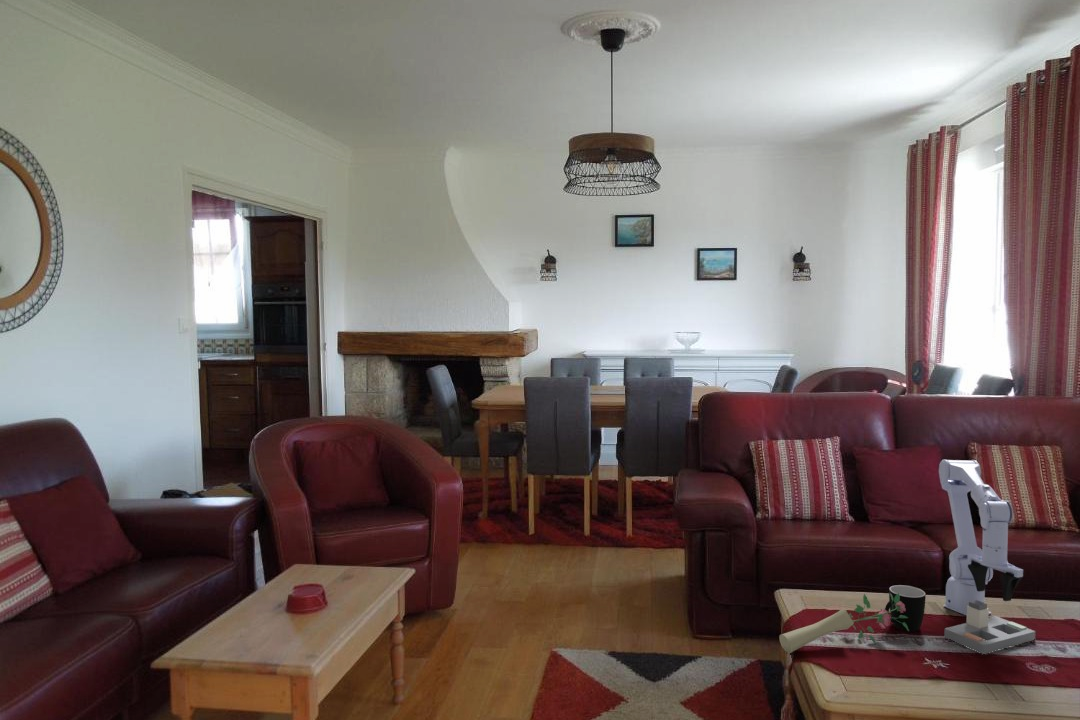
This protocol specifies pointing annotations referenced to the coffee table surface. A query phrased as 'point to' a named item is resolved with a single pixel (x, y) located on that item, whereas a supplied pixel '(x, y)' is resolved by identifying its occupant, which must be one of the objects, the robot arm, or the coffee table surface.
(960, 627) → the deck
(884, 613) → the flower vase
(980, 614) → the plug
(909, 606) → the mug
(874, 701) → the coffee table surface
